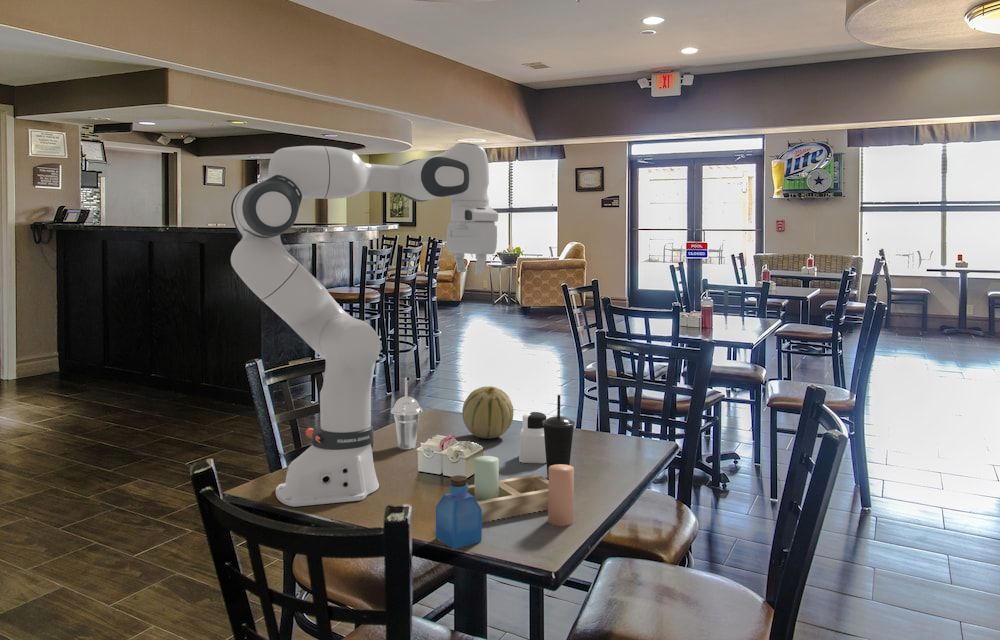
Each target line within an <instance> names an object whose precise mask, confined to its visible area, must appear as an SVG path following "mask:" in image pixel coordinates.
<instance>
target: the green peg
mask: <svg viewBox="0 0 1000 640" xmlns="http://www.w3.org/2000/svg"><path fill="white" fill-rule="evenodd" d="M499 467H500V459H499V458H498V457H497V456H492V455H481V456H476V457H475V458H474V485H475V488H474V498H475V499H476V500H477V501H482V500H488V499H493V498H499V479H500V477H499V475H500V469H499Z"/></svg>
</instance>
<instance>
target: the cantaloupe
mask: <svg viewBox="0 0 1000 640" xmlns="http://www.w3.org/2000/svg"><path fill="white" fill-rule="evenodd" d="M461 410H462V421H463V423H464V425H465V427H466V429H467V430H468V432H469V433H471V434H472V435H473V436H475V437H478V438H480V439H487V440H490V439H496V438H499V437H500V436H503V435H504V434H505V433H506V432H507V431H508V430H509V429H510V427H511V425H512V422H513V419H514V414H515V413H514V406H513V403H512V400H511V399H510V397H509V395H508V394H507V393H506V392H505V391H503V390H502V389H500V388H498V387H496V386H492V385H491V386H490V385H489V386H481V387H478V388H476V389H474V390H471V392H470V393H469V395H467V397H466V399H465V401H464V403H463V406H462V409H461Z"/></svg>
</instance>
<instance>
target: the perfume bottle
mask: <svg viewBox="0 0 1000 640" xmlns="http://www.w3.org/2000/svg"><path fill="white" fill-rule="evenodd" d="M449 478H450V479H449V480H450V483H449V489H448V490H449V491H450V492H449V493H445V494H443V495H442V497H441V499H440V500H439V502H438V503H437V504H436V506H435V539H436V538H437V539H439V540H440V542H441V543H442V542H443V543H442V544H444V543H445V544H446V546H447V545H448V546H447V547H448V548H450V547H451V548H450V549H452V550H457V549H460V548H464V546H465V547H468V546H472V545H474V544H473V543H475V544H477V543H478V542H479V543H481V542H480V541H482V539H483V538H482V537H483V535H482V527H483V526H482V525H483V523H482V509H481V508H480V506H479V504H478V503H477V501H476V499H475V498H474V496H472V495H470V494H468V493H466V491H467V490H468V486H469V483H467V481H468V477H467V476H465V475H452V476H450V477H449ZM437 539H436V540H437ZM439 540H438V541H439ZM445 544H444V545H445ZM471 544H472V545H471ZM467 545H468V546H467Z"/></svg>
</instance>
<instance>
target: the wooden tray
mask: <svg viewBox="0 0 1000 640" xmlns="http://www.w3.org/2000/svg"><path fill="white" fill-rule="evenodd" d="M548 485H549V480H548V478H545V477H543V476H542V475H540V474H530V475H524V476H523V475H522V476H518V477H517V476H516V477H511V478H505V479H500V480H499V498H493V499H488V500H482V501H477V500H476V501H477V503H478V504H479V506H480V508H481V509H482V524H483V522H484V523H488V521H489V522H493V521H492V520H495V521H498V520H497V519H500V520H502V519H501V518H505V519H508V518H507V517H510V518H512V517H511V516H515V517H518V516H517V515H520V516H523V515H522V514H526V515H528V514H527V513H531V514H533V513H532V512H536V513H539V512H538V511H541V512H543V511H542V510H546V511H548V510H547V509H548ZM474 488H475V484H470V485H469V484H468V490H467V491H466V493H468V494H470V495H472V496H474Z"/></svg>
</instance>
